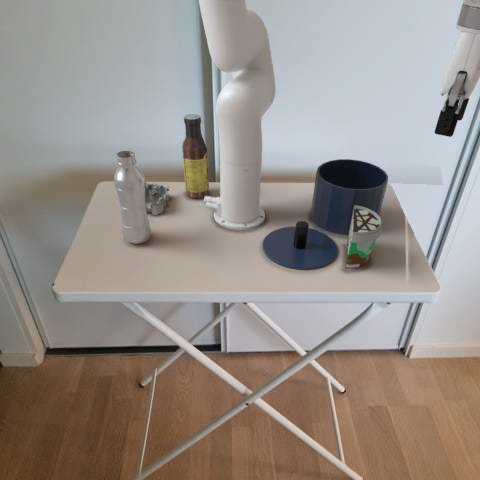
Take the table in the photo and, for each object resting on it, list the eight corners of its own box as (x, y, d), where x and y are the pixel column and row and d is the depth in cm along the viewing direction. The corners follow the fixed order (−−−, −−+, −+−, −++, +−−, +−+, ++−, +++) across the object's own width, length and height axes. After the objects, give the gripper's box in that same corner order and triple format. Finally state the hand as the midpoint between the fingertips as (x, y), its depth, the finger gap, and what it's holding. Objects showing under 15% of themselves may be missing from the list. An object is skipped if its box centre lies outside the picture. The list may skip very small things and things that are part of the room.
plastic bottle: (137, 228, 109) (125, 145, 96) (158, 238, 107) (148, 153, 93) (117, 240, 106) (101, 155, 92) (138, 250, 103) (125, 164, 89)
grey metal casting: (161, 216, 114) (159, 201, 111) (132, 214, 115) (129, 198, 112) (172, 196, 122) (171, 181, 119) (145, 193, 122) (143, 179, 120)
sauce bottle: (213, 196, 122) (211, 118, 109) (192, 201, 120) (188, 123, 106) (201, 186, 126) (198, 110, 113) (181, 191, 124) (175, 114, 110)
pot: (306, 231, 110) (312, 184, 102) (315, 200, 122) (321, 155, 114) (375, 241, 107) (387, 194, 99) (377, 208, 119) (388, 164, 111)
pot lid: (255, 264, 100) (256, 238, 95) (270, 226, 112) (272, 201, 107) (331, 277, 97) (337, 251, 92) (339, 236, 109) (344, 211, 104)
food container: (373, 278, 97) (385, 237, 90) (344, 274, 98) (353, 233, 91) (373, 246, 106) (383, 207, 99) (346, 243, 107) (354, 203, 100)
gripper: (467, 9, 82) (437, 109, 93) (448, 25, 71) (417, 137, 82) (513, 14, 79) (476, 116, 91) (501, 31, 68) (461, 146, 80)
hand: (448, 126), depth 86 cm, fingers open, 9 cm apart
